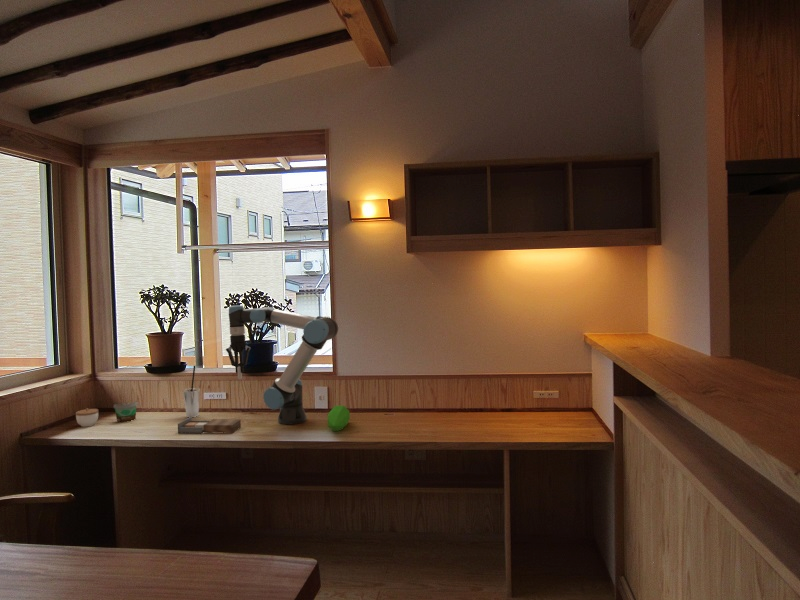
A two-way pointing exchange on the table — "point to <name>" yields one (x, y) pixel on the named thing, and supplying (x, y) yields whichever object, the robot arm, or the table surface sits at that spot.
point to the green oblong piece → (338, 418)
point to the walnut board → (222, 425)
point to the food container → (125, 411)
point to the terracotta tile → (191, 424)
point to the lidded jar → (87, 417)
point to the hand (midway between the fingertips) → (240, 378)
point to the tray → (190, 429)
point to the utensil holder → (192, 399)
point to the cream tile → (200, 425)
